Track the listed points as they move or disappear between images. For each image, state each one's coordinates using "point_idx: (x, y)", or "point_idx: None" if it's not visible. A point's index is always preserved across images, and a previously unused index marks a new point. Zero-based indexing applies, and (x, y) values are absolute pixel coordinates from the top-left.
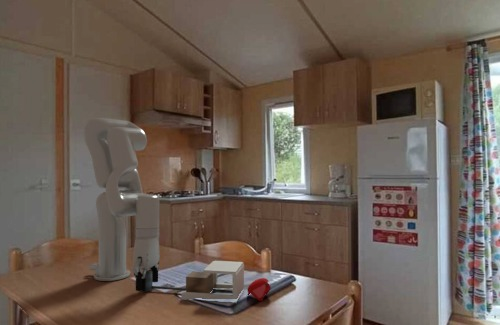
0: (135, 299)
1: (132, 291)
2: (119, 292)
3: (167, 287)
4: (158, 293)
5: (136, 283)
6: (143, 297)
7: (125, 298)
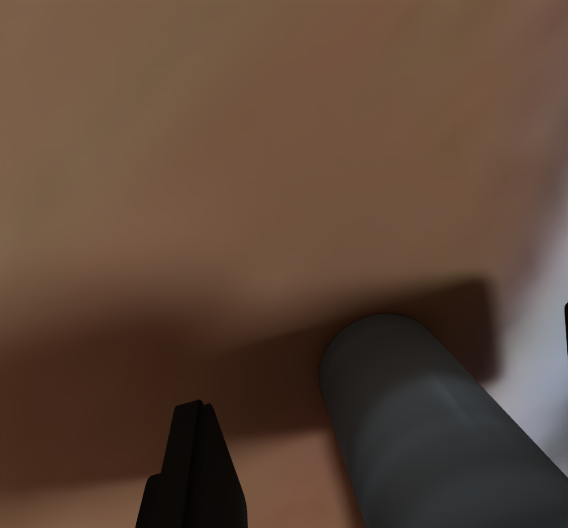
0: (84, 453)
1: (279, 221)
2: (158, 72)
3: None
4: (350, 524)
5: (164, 489)
6: None
7: (38, 333)
